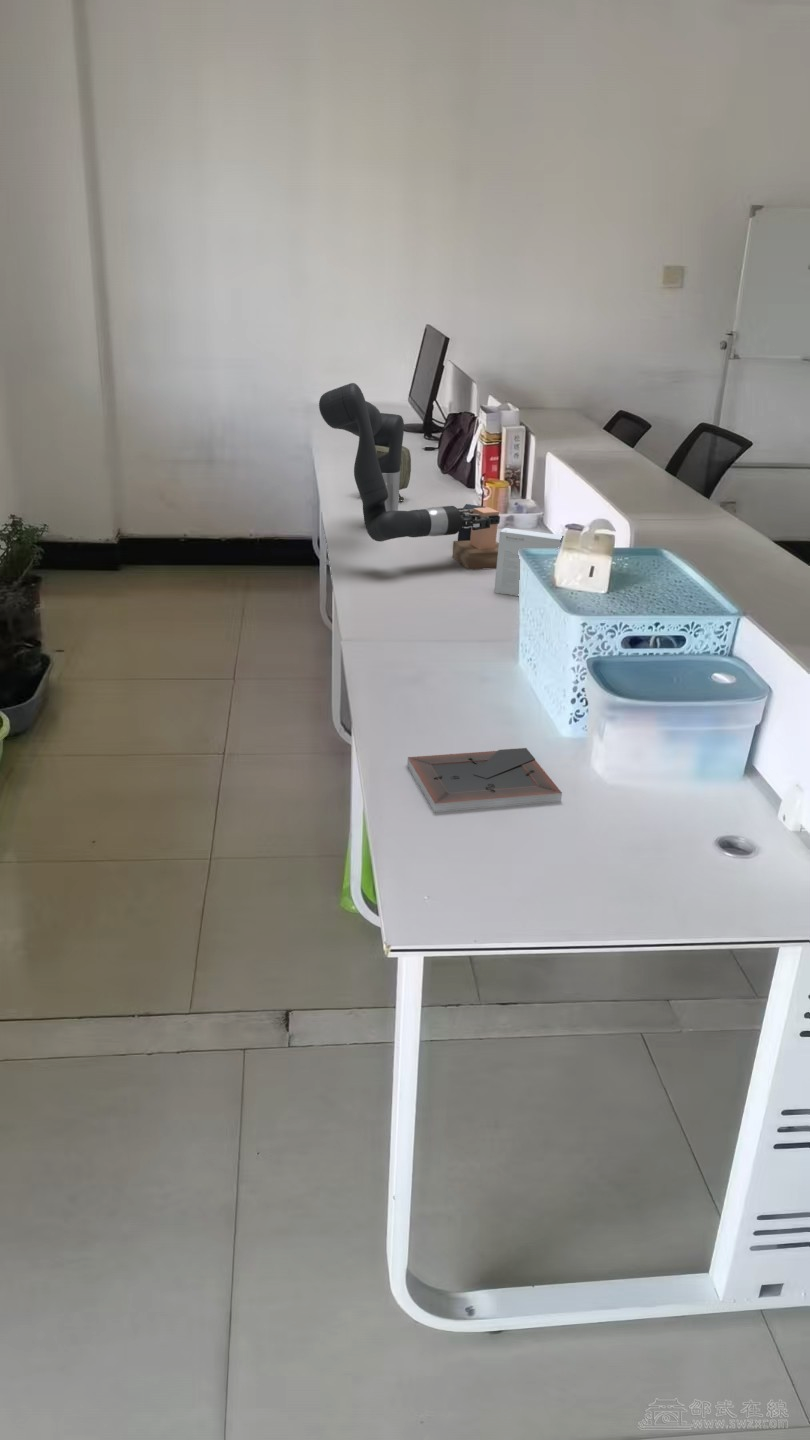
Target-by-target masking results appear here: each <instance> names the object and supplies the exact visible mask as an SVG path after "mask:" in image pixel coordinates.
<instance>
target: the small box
mask: <svg viewBox="0 0 810 1440" xmlns="http://www.w3.org/2000/svg"><path fill="white" fill-rule="evenodd" d="M462 508H468V510H470V509H473V508H486V506H483V505H476V504H470V503H469V504H468V503H466V504H465V505H464V506H463V507H462ZM470 537H471V527H469V528H462V527H461V528H460V530H459V531H458V533H457V541H470Z"/></svg>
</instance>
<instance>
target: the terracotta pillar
mask: <svg viewBox="0 0 810 1440" xmlns="http://www.w3.org/2000/svg"><path fill="white" fill-rule="evenodd" d="M485 507H486V506H485ZM473 514H479V515H480V516H494V515H498V516H500V511H499V510H496V509H493V508H491V507H486V508H473ZM475 519H477V517H475ZM498 525H499V524H492V525H490V528H486V529H480V530H472V527H471V537H470V545H472V546H474V547H476V548H478V549H490V548H495V544H496V542H497V532H498Z"/></svg>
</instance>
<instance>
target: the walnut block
mask: <svg viewBox="0 0 810 1440" xmlns="http://www.w3.org/2000/svg"><path fill="white" fill-rule="evenodd" d="M452 542H453V543H452V555H451V556H452V558H453V559H454V558H455V561H457V562H459V563H460V565H462V564H463V565H462V566H463V567H465V566H466V567H467V568H466V567H465V568H466V569H467V570H469V569H472V570H484V569H483V568H490V569H496V567H497V557H498V547H499V541H498V542H497V541H496V544H495V548H490V549H478V548H476V547H474V546H472V545H470V541H458V540H454V541H452Z"/></svg>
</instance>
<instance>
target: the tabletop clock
mask: <svg viewBox="0 0 810 1440" xmlns="http://www.w3.org/2000/svg"><path fill="white" fill-rule="evenodd" d="M375 448H376V453H377V457H378V456H382V455H385V454H386V453H388V451H389V447H384V446H376V445H375ZM410 451H411V450H410V449H409V448H407V446H404V445H402V454H401V465H400V483H399V491H401V490H405V489H407V488H408V486H409V483H410V480H411V472H412V456H411V452H410ZM399 500H405V498H404V497H403V496H401V494H400V493H399Z"/></svg>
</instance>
